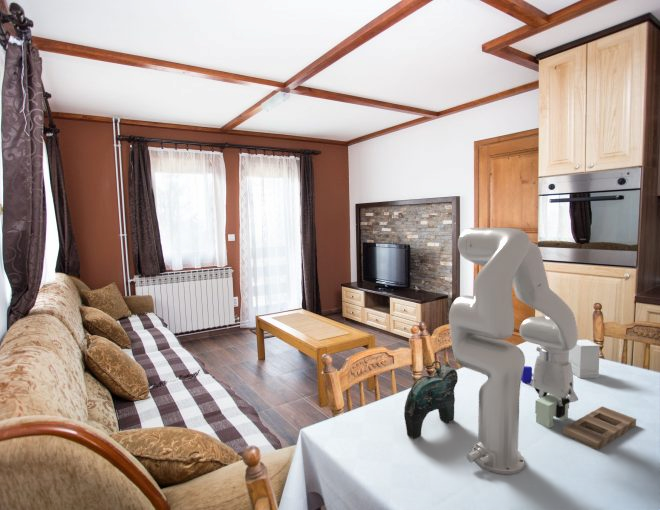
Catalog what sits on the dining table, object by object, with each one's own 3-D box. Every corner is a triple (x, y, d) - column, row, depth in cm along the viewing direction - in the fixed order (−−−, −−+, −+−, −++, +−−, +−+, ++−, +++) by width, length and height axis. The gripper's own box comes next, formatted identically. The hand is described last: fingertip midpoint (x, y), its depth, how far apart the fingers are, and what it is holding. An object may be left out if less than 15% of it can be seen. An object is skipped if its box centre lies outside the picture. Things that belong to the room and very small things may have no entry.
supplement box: (599, 378, 146) (600, 345, 145) (579, 378, 146) (580, 346, 145) (586, 370, 153) (587, 339, 152) (567, 370, 153) (568, 339, 152)
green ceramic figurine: (446, 412, 124) (446, 352, 122) (462, 421, 119) (463, 358, 117) (400, 433, 114) (400, 368, 111) (417, 444, 108) (416, 375, 106)
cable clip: (509, 370, 156) (510, 355, 155) (521, 370, 155) (522, 356, 154) (518, 383, 144) (519, 367, 144) (531, 383, 143) (532, 368, 143)
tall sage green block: (548, 428, 114) (548, 405, 113) (534, 422, 117) (535, 400, 117) (568, 417, 119) (569, 395, 119) (555, 411, 123) (556, 390, 122)
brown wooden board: (597, 450, 103) (597, 443, 103) (562, 434, 111) (563, 427, 110) (635, 425, 114) (636, 419, 114) (601, 412, 122) (602, 406, 121)
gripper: (520, 349, 121) (519, 405, 123) (576, 367, 107) (574, 429, 109) (534, 345, 125) (533, 399, 127) (590, 361, 111) (588, 421, 113)
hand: (552, 412), depth 118 cm, fingers closed on tall sage green block, 4 cm apart
